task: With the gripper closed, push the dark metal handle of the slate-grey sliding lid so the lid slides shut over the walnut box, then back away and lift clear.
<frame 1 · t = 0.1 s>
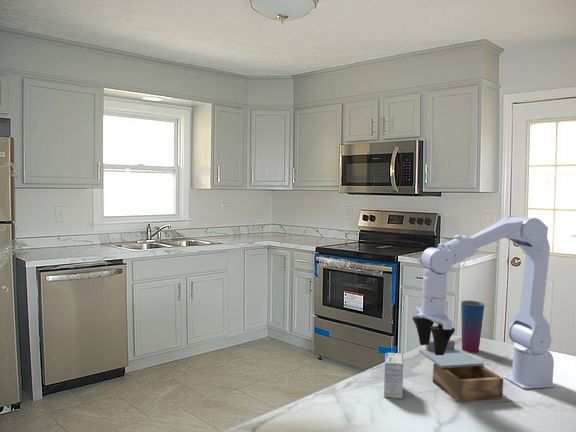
hand: (431, 349, 126), 10 cm above the countertop, tool pointing down, fingers open, 7 cm apart
walnut box: (466, 390, 126), on the countertop
lid: (450, 353, 134), point 7 cm above the countertop, slide at 8.0 cm
medicine box: (392, 392, 124), on the countertop
cup: (470, 350, 158), on the countertop
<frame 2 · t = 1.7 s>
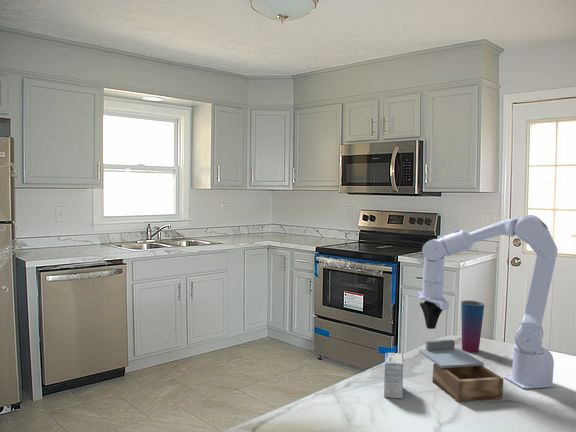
hand: (430, 328, 144), 10 cm above the countertop, tool pointing down, fingers closed
nothing on the countertop moved.
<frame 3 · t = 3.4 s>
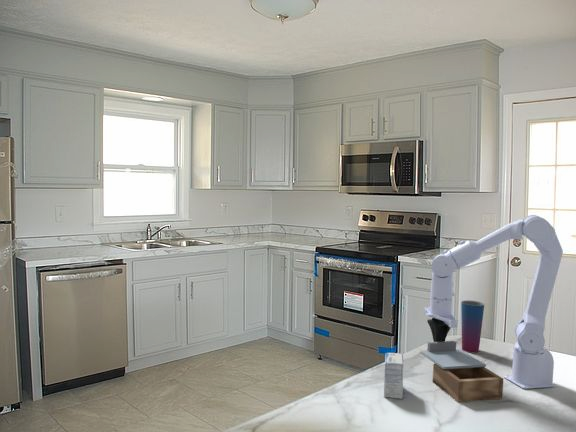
hand: (438, 345, 140), 7 cm above the countertop, tool pointing down, fingers closed
lid: (452, 354, 133), point 7 cm above the countertop, slide at 7.1 cm, touching gripper
everything else where it was.
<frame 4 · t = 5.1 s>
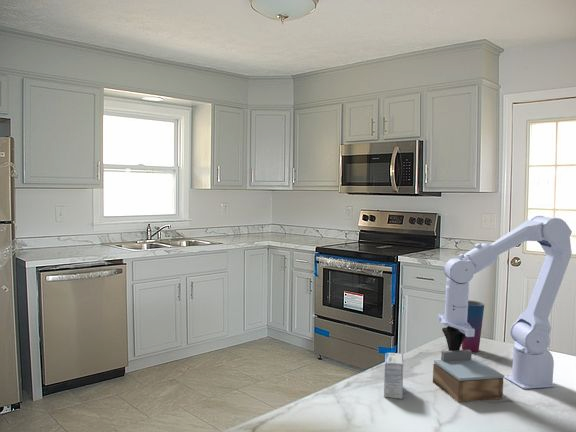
hand: (453, 355, 132), 7 cm above the countertop, tool pointing down, fingers closed
lid: (468, 364, 126), point 7 cm above the countertop, slide at -0.2 cm, touching gripper
everything else where it was.
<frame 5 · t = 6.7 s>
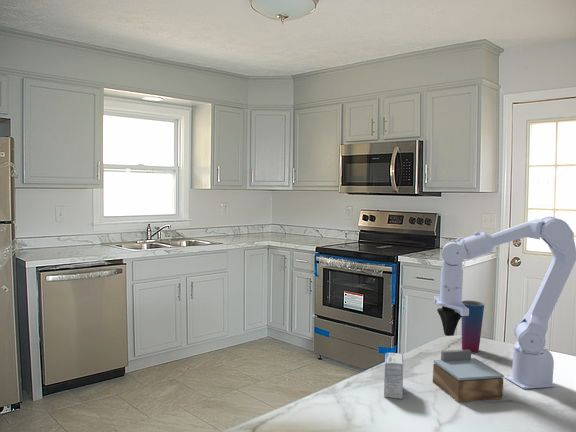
hand: (449, 335, 138), 10 cm above the countertop, tool pointing down, fingers closed
lid: (467, 363, 126), point 7 cm above the countertop, slide at 0.0 cm
everything else where it was.
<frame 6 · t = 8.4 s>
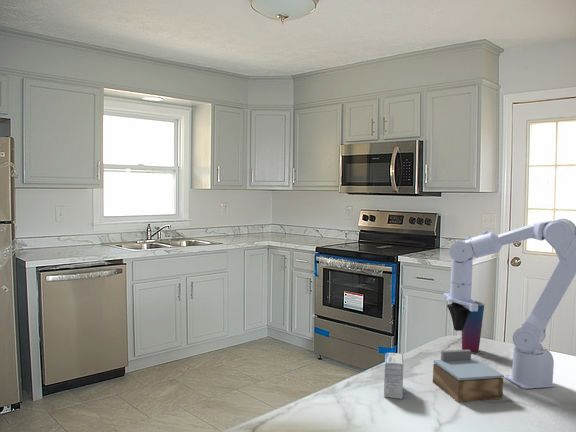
hand: (458, 330, 143), 10 cm above the countertop, tool pointing down, fingers closed
nothing on the countertop moved.
at the end: lid slide at 0.0 cm; medicine box moved 0.3 cm from its start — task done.
